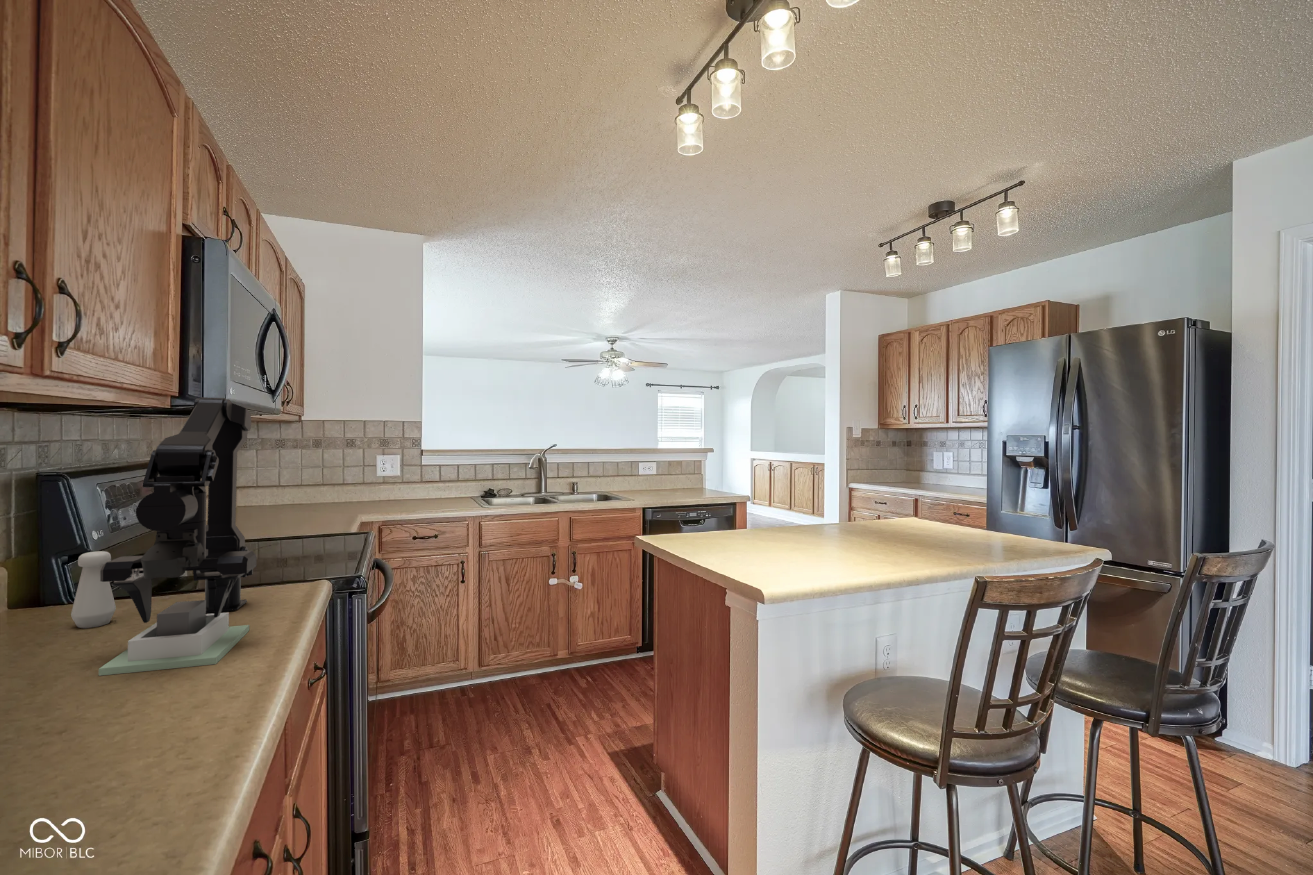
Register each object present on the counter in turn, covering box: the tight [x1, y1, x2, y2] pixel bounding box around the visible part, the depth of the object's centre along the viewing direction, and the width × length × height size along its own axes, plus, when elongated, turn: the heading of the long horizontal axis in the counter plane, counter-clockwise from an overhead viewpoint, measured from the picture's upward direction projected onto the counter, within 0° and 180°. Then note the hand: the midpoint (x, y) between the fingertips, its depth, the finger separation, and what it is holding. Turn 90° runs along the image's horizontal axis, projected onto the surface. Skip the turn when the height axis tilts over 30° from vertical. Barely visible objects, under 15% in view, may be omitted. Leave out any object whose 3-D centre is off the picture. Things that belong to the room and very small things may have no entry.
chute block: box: [156, 599, 207, 637], centre depth 93 cm, size 7×4×6 cm, turn 20°
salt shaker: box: [70, 550, 117, 629], centre depth 105 cm, size 6×6×13 cm
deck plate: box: [98, 611, 250, 677], centre depth 93 cm, size 16×14×4 cm
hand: (182, 619), depth 93 cm, fingers open, 9 cm apart
